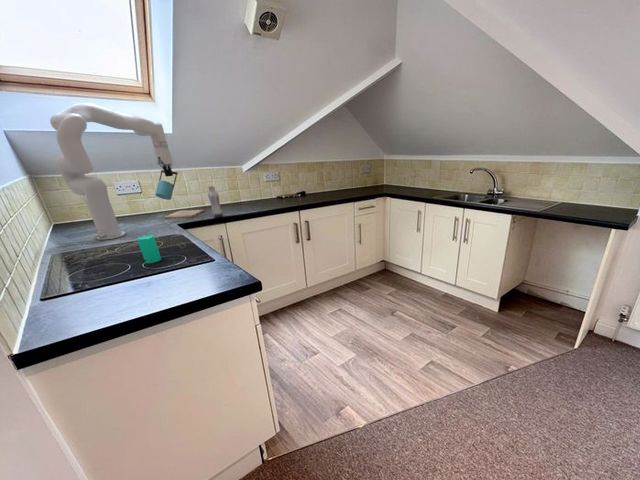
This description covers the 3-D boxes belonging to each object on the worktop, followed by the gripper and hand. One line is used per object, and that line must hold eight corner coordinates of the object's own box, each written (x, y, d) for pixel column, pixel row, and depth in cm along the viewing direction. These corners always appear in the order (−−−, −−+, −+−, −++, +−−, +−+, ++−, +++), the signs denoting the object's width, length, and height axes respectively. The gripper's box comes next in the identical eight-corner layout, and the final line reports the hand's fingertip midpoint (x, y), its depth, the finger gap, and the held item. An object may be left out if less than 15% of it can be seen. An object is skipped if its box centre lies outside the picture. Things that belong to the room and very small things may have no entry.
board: (191, 217, 203) (190, 215, 202) (164, 218, 202) (164, 216, 202) (204, 211, 221) (204, 209, 221) (180, 212, 220) (179, 210, 220)
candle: (163, 257, 131) (154, 230, 126) (159, 261, 126) (150, 234, 121) (147, 259, 130) (137, 232, 125) (143, 264, 124) (133, 236, 119)
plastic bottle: (216, 218, 197) (209, 187, 189) (211, 217, 201) (203, 187, 193) (225, 216, 202) (218, 186, 194) (220, 215, 206) (213, 185, 198)
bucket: (165, 173, 194) (158, 166, 186) (180, 175, 195) (174, 168, 187) (159, 198, 191) (151, 192, 183) (174, 200, 192) (167, 195, 184)
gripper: (161, 144, 191) (170, 175, 198) (146, 145, 177) (156, 177, 184) (173, 144, 191) (181, 174, 199) (159, 144, 177) (168, 177, 184)
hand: (169, 175), depth 191 cm, fingers closed on bucket, 1 cm apart
